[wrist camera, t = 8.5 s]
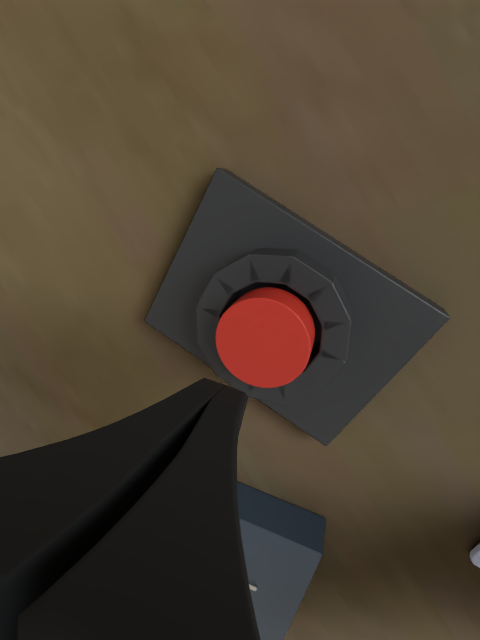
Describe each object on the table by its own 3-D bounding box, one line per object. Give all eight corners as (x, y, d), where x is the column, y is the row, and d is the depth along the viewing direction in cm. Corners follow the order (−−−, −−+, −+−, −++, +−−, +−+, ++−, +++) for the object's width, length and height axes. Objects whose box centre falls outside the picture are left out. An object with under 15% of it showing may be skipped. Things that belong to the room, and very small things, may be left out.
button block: (444, 309, 16) (463, 333, 13) (327, 433, 20) (323, 471, 17) (225, 168, 17) (200, 163, 14) (154, 314, 21) (124, 333, 18)
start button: (333, 320, 15) (331, 336, 13) (283, 385, 17) (276, 405, 15) (255, 268, 15) (244, 278, 14) (213, 337, 17) (199, 352, 15)
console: (326, 517, 22) (322, 557, 19) (285, 610, 26) (278, 653, 23) (128, 436, 25) (104, 462, 22) (119, 531, 29) (97, 562, 26)
